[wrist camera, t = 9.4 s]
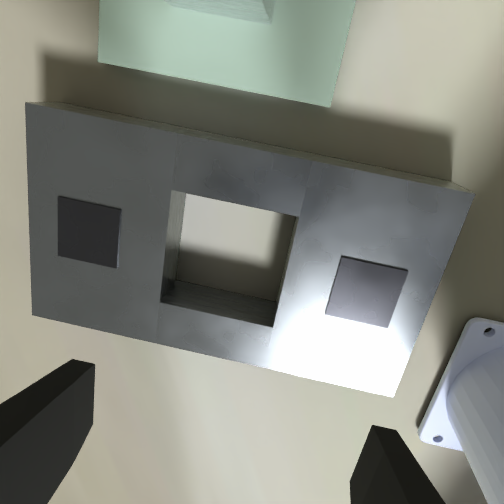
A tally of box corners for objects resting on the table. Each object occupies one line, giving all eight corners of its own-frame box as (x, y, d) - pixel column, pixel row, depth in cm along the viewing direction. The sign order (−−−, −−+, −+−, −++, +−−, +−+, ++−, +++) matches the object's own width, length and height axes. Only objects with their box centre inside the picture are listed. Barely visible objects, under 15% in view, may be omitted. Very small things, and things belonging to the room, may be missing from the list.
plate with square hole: (452, 181, 17) (476, 194, 15) (382, 364, 21) (393, 398, 19) (60, 102, 18) (23, 102, 16) (60, 292, 22) (31, 316, 19)
